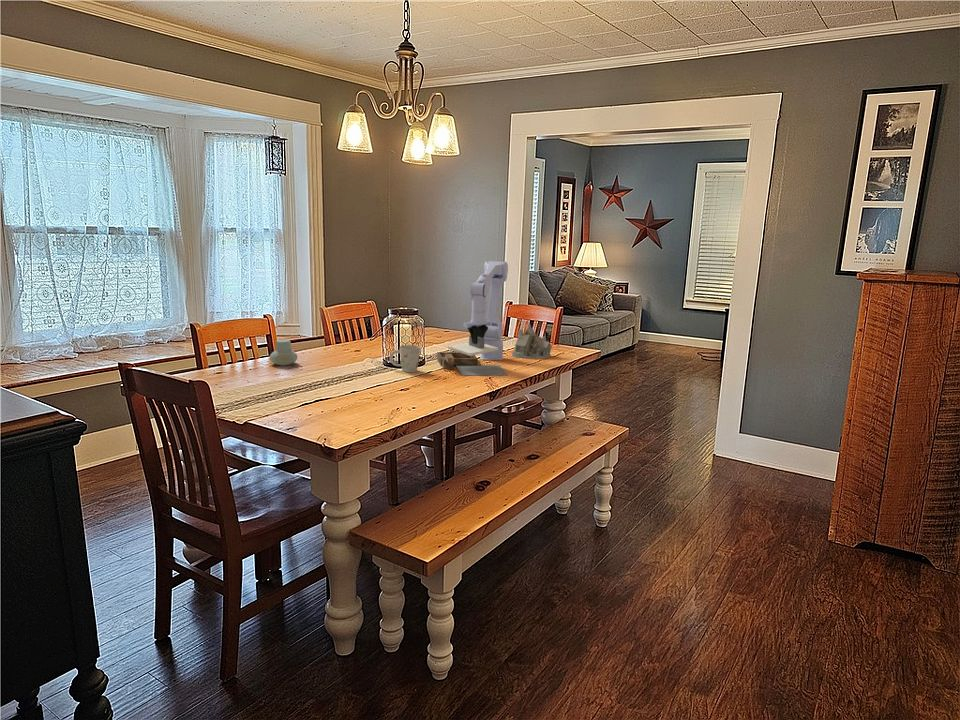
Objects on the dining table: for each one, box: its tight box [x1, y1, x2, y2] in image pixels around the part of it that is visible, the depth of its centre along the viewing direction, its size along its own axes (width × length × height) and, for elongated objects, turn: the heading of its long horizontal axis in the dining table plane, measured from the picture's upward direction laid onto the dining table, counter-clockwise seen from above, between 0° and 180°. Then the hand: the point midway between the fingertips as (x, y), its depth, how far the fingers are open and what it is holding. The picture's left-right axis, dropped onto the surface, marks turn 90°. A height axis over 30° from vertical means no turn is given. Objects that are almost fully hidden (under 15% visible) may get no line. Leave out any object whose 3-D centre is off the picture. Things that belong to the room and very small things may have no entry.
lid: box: [447, 335, 498, 356], centre depth 268 cm, size 16×14×6 cm
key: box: [445, 354, 454, 363], centre depth 263 cm, size 2×8×2 cm, turn 11°
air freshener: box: [269, 339, 298, 367], centre depth 263 cm, size 11×8×10 cm
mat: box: [455, 364, 509, 377], centre depth 266 cm, size 19×17×1 cm
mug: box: [389, 344, 421, 373], centre depth 260 cm, size 8×13×10 cm, turn 89°
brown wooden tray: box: [436, 351, 479, 370], centre depth 277 cm, size 16×20×4 cm
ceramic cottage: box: [511, 323, 553, 360], centre depth 297 cm, size 16×16×15 cm
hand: (477, 343), depth 269 cm, fingers closed on lid, 2 cm apart
